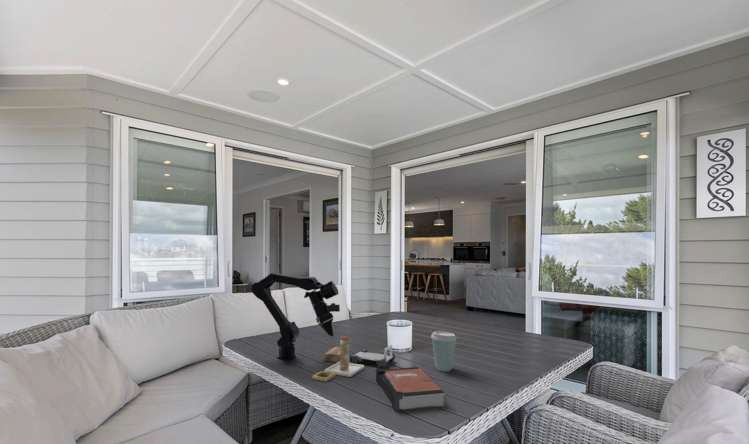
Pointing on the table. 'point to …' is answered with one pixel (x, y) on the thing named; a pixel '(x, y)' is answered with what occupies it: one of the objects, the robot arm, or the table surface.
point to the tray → (352, 370)
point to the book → (409, 388)
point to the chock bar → (333, 355)
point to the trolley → (374, 357)
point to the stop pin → (344, 353)
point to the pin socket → (317, 377)
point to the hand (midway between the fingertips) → (331, 335)
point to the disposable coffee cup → (443, 349)
